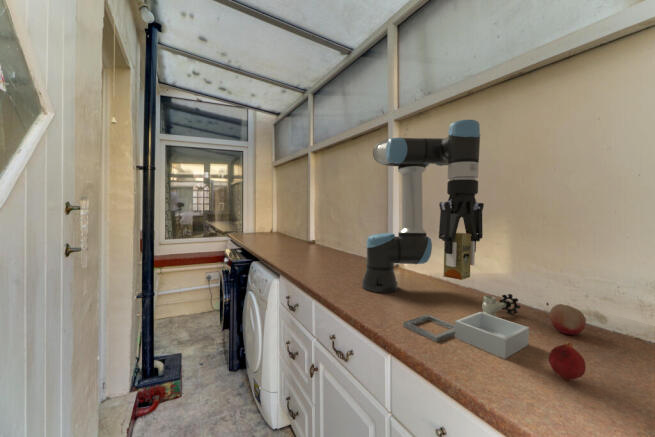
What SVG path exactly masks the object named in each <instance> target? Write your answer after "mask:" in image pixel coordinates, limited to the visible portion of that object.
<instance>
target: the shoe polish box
mask: <svg viewBox="0 0 655 437" xmlns="http://www.w3.org/2000/svg"><path fill="white" fill-rule="evenodd" d="M449 237H450V236H449ZM443 242H444V243H443V244H444V245H443V277H444V278H450V279H455V280H461V281H463V280H465V279H469V278H471V265H470V258H471V234H469V233H466V232H456V235H455V239H454V242H457V248H456V267H451V266H447V265H446V253H445V241H443Z"/></svg>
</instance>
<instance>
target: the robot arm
mask: <svg viewBox="0 0 655 437" xmlns="http://www.w3.org/2000/svg"><path fill="white" fill-rule="evenodd" d="M480 133H481V130H480V122H478V120H476V119H460V120H457V121H454V122H452V123H450V125H449V127H448V132H447V134H448V136H447V137H446V138H445V137H444V138H440V137H439V138H436V137H434V138H432V137H430V138H429V137H428V138H427V137H422V138H421V137H416V138H415V137H399V136H398V137H391V138H389V139H384V140H380V141H378V142H377V144H375V145H374V146H373V150H372V157H373V159H374V160H375V162H376V163H378V164H381V165H384V166H387V167H397V172H398V173H399V174H401V229H400V230H399V231H398V234H397V235H398V236H396V234H395V233H393V232H381V233H375V234H371V235H369V236H368V237H367V239H366V246H365V247H366V268H365V269H366V270H365V273H364V276H363V279H362V280H361V287H362V289H364V290H366V291H370V292H374V293H393V292H395V291H396V292H397V291H398V282H397V279H396V274H395V270H394V269H395V268H394V267H395V264H396V265H402V264H403V265H404V264H405V265H422V264H427V263H428V262H429V260H430V258H431V256H432V251H433V250H432V249H433V243H432V239H431V237H429V236H427V231H425V229H423V227H424V226H423V224H424V222H423V217H424V216H423V214H424V212H423V173H424V172H425V171H426V170H427V167H429V165H430V164H431V165H433V164H434V165H437V166H439V167H442V166H447V180H448V182H446V183H447V186H446V193H447V195H448V200H447V201H440V202H439V210H440V212H439V213H440V216H439V226H438V227H439V231H438V239H439V240H441V241H442V242H444V241H445V253H446V265H447V266H451V267H456V248H457V242H454V239H455V235H456V233H458V232H457V231H458V227H459V223H460V220H461V218H462V221H463V224H464V230H465V233H469V234H471V258H470V266H475V260H476V259H475V258H476V256H475V254H476V251H477V247H476V246H477V242H480V240H482V239H483V210H484V204H485V203H483V202H478V201H477V199H476V195H477V194H479V181H478V180H477V179H478V178H479V163H480V162H479V161H480V144H481V134H480ZM449 236H450V237H449Z"/></svg>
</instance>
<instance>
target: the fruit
mask: <svg viewBox="0 0 655 437" xmlns="http://www.w3.org/2000/svg"><path fill="white" fill-rule="evenodd" d="M548 318H549V320H550V322H551V324H552V326H553V327H554V328H555V329H556V331H559V332H560V333H562V334H564V335H569V336H570V335H571V336H574V335H578V334H580V333H581V332H582V331H584V329H585V327H586V325H587V320H586V319H587V318H586V317H585V314H584V313H583V312H582V311H581V310H579V309H577V308H575V307H573V306H570V305H568V304H561V303H559V304H556V305H554V306H552V308H551V310H550V311H549V314H548Z"/></svg>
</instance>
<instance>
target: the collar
mask: <svg viewBox="0 0 655 437" xmlns="http://www.w3.org/2000/svg"><path fill="white" fill-rule="evenodd" d="M427 321H429V322H431V323H434V324H437V325H439V326H442V327H444V328H447V330H445V331H442V332H439V333H436V334H435V333H432V332H431V331H428V330H426V329H423V328H422V327H420V326H417V325H418V324H421V323H424V322H427ZM402 327H403V328H406V329H408V330H410V331H412V332H414V333H417V334H419V335H421V336H422V337H425V338H426V339H429V340H431V341H433V342H435V343H438V342H440V341H443V340H445V339H448V338H450V337H453V336H455V323H454V324H453V323H450V322H448V321H447V320H446V321H445V320H443V319H441V318H439V317H436V316H433V315H431V314H428V313H427V314H425V315H421V316H418V317H415V318H412V319H409V320H405V321H403V322H402Z"/></svg>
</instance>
